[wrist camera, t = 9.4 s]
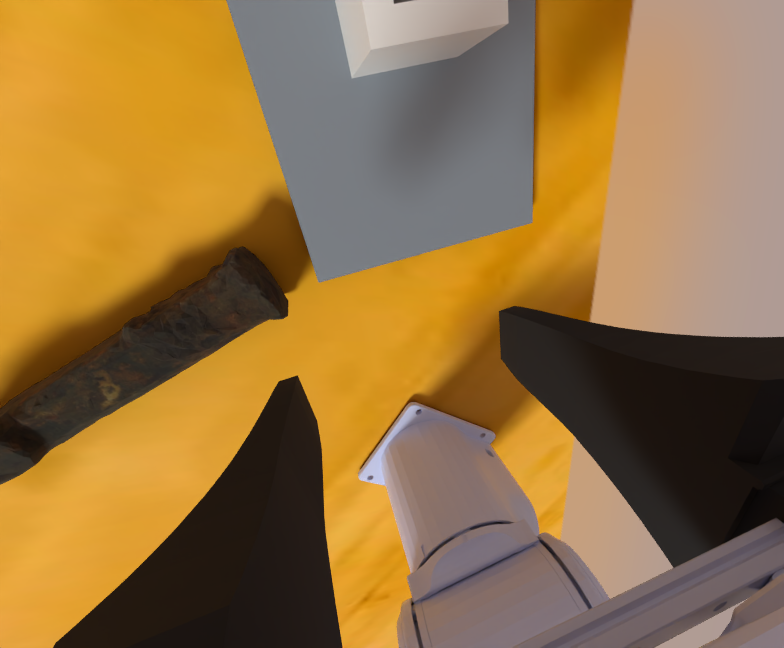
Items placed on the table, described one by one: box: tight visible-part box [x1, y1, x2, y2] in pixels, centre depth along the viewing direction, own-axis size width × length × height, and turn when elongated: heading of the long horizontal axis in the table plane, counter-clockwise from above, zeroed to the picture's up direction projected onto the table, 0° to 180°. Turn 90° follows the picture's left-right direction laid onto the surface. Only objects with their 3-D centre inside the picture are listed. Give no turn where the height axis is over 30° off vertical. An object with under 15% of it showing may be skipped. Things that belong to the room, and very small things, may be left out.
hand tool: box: [0, 247, 288, 484], centre depth 16 cm, size 19×4×5 cm, turn 115°
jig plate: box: [226, 0, 535, 282], centre depth 14 cm, size 15×13×4 cm
